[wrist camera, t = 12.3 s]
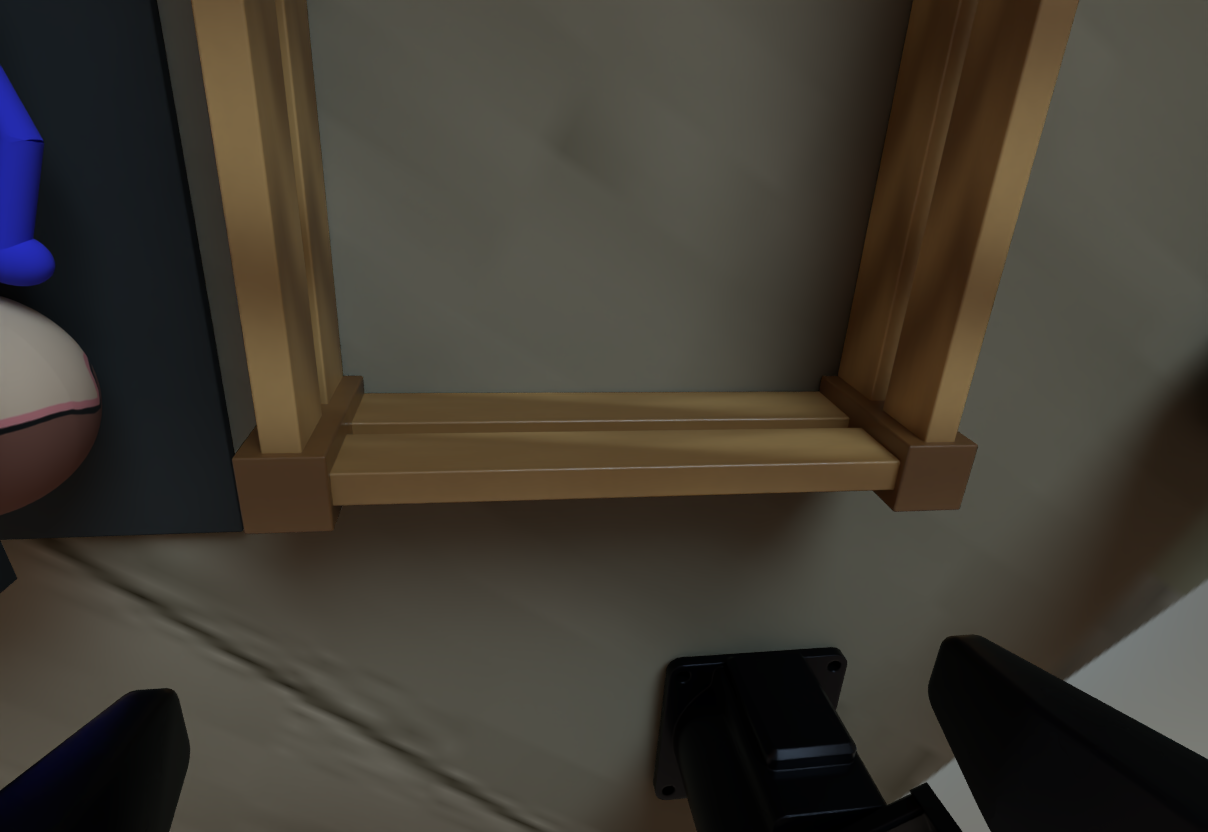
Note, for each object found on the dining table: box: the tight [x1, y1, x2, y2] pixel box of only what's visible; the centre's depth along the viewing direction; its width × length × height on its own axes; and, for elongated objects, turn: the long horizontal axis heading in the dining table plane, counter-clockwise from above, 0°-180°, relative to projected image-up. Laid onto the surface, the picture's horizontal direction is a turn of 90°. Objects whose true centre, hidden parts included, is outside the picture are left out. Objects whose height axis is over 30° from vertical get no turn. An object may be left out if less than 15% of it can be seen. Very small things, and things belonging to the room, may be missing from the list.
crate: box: [191, 0, 1079, 534], centre depth 14 cm, size 21×17×5 cm
